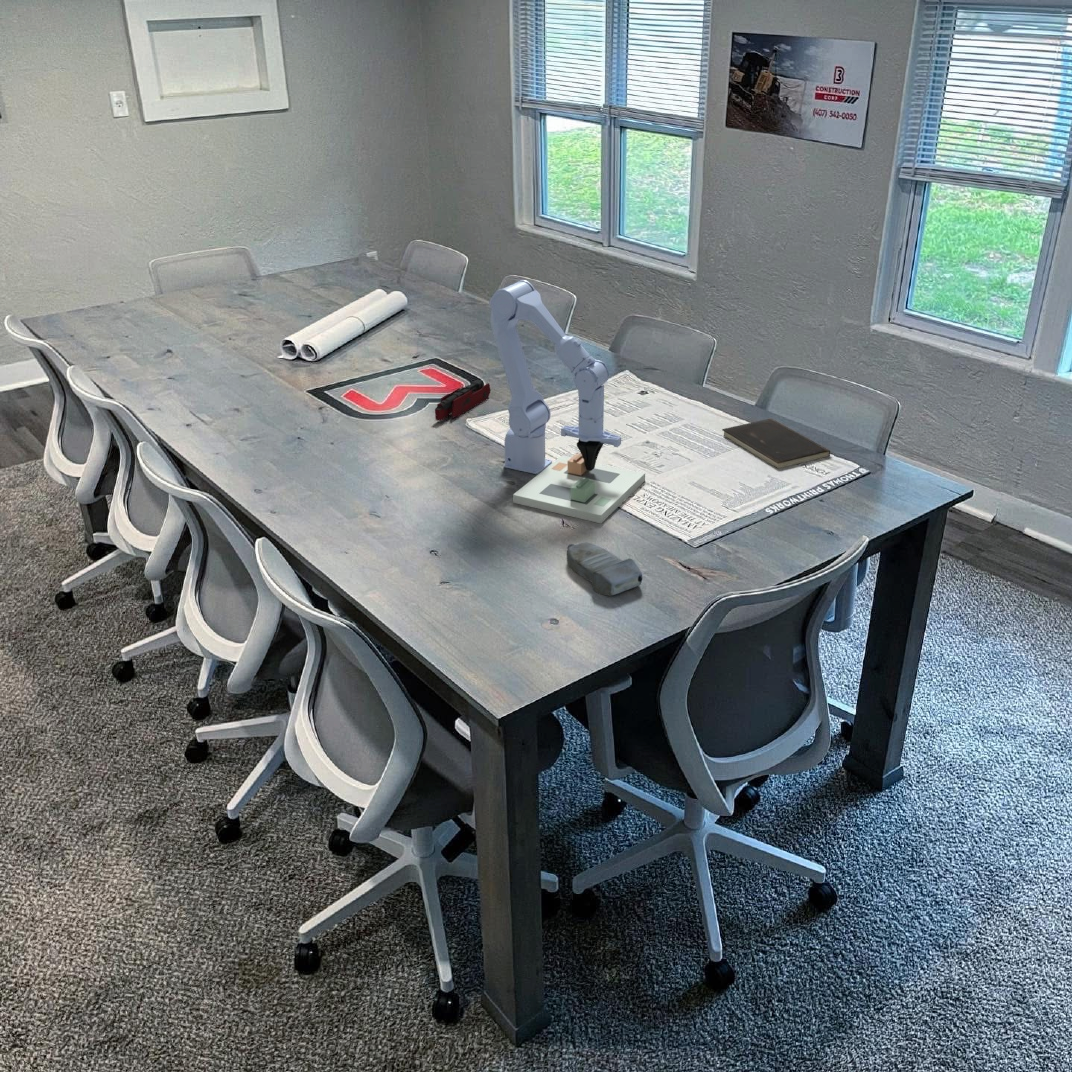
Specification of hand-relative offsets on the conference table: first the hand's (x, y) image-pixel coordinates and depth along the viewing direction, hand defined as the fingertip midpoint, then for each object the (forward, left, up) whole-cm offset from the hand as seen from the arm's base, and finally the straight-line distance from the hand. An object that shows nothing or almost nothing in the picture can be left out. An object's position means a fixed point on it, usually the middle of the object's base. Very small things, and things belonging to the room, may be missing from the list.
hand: (590, 468), depth 247 cm
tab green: (+4, -12, -1) cm, 13 cm away
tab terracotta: (-3, 0, -1) cm, 3 cm away
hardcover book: (+32, +39, -4) cm, 51 cm away
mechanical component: (-51, +25, -4) cm, 57 cm away
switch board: (0, -6, -3) cm, 7 cm away
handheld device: (+20, -37, -4) cm, 42 cm away
